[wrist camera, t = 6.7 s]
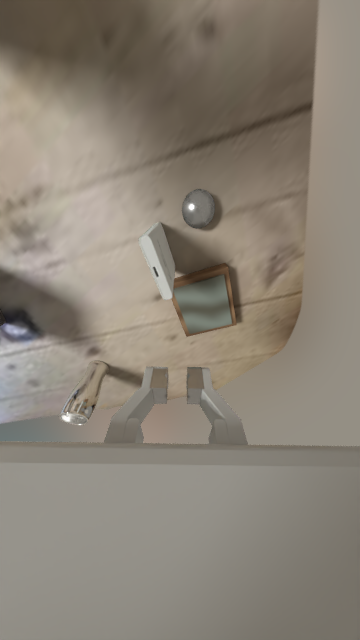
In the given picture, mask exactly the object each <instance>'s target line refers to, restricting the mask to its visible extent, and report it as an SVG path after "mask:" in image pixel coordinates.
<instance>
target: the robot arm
mask: <svg viewBox="0 0 360 640" xmlns="http://www.w3.org/2000/svg"><path fill="white" fill-rule="evenodd" d="M186 383H187V404H200V406H201V408H202V410H203V411H204V413H205V415H206V416H207V418H208V419H209V421H210V423H211V424H212V429H211V433H210V436H209V444H159V443H158V444H157V443H155V444H154V443H143V439H144V437H143V433H142V429H141V426H140V425H141V423H142V422H143V420H144V419H145V417H146V416H147V414H148V413H149V412H150V410H151V409H152V407H153V406H154V404H166V403H167V388H168V367H146V369H145V373H144V378H143V382H142V387H141V388H139V389H138V390H137V391H136V392H135V393H134V394H133V395H132V396H131V397H130V398H129V399H128V401H127V402H126V403H125V404H124V405H123V406H122V407H121V408H120V409H119V410H118V411H117V412H116V413H115V415H114V416H113V417H112V419H111V422H110V425H109V428H108V431H107V434H106V437H105V440H104V443H87V442H83V443H82V442H11V441H0V640H360V446H304V445H303V446H301V445H248V443H247V440H246V436H245V433H244V429H243V425H242V422H241V419H240V418H239V417H238V415H237V414H236V413H235V412H234V411H233V410H232V408H231V407H230V406H229V405H228V404H227V403H226V401H225V400H224V399H223V398H222V397H221V395H220V394H219V393H218V392H217V391H216V390H215V389H213V386H212V381H211V375H210V369H209V368H201V367H187V381H186Z"/></svg>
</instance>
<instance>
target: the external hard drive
mask: <svg viewBox="0 0 360 640" xmlns="http://www.w3.org/2000/svg"><path fill="white" fill-rule="evenodd" d="M139 245H140V247H141V250H142V252H143V254H144V257H145V259H146V261H147V264H148V266H149V268H150V270H151V273H152V275H153V278H154V280H155V282H156V284H157V287H158V289H159V291H160V294H161V296H162V298H163V299H164V300H168V299H171V298H172V297H173V286H174V276H175V263H174V260H173V257H172V254H171V251H170V248H169V245H168V242H167V239H166V236H165V233H164V230H163V227H162V224H161V223H160V222H159V223H156V224H154V225H153V226H152V227H151V228H149V229H148V230H147V231H146V232H145V233H144V234H143V235H142V236H141V237H140V238H139Z"/></svg>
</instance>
